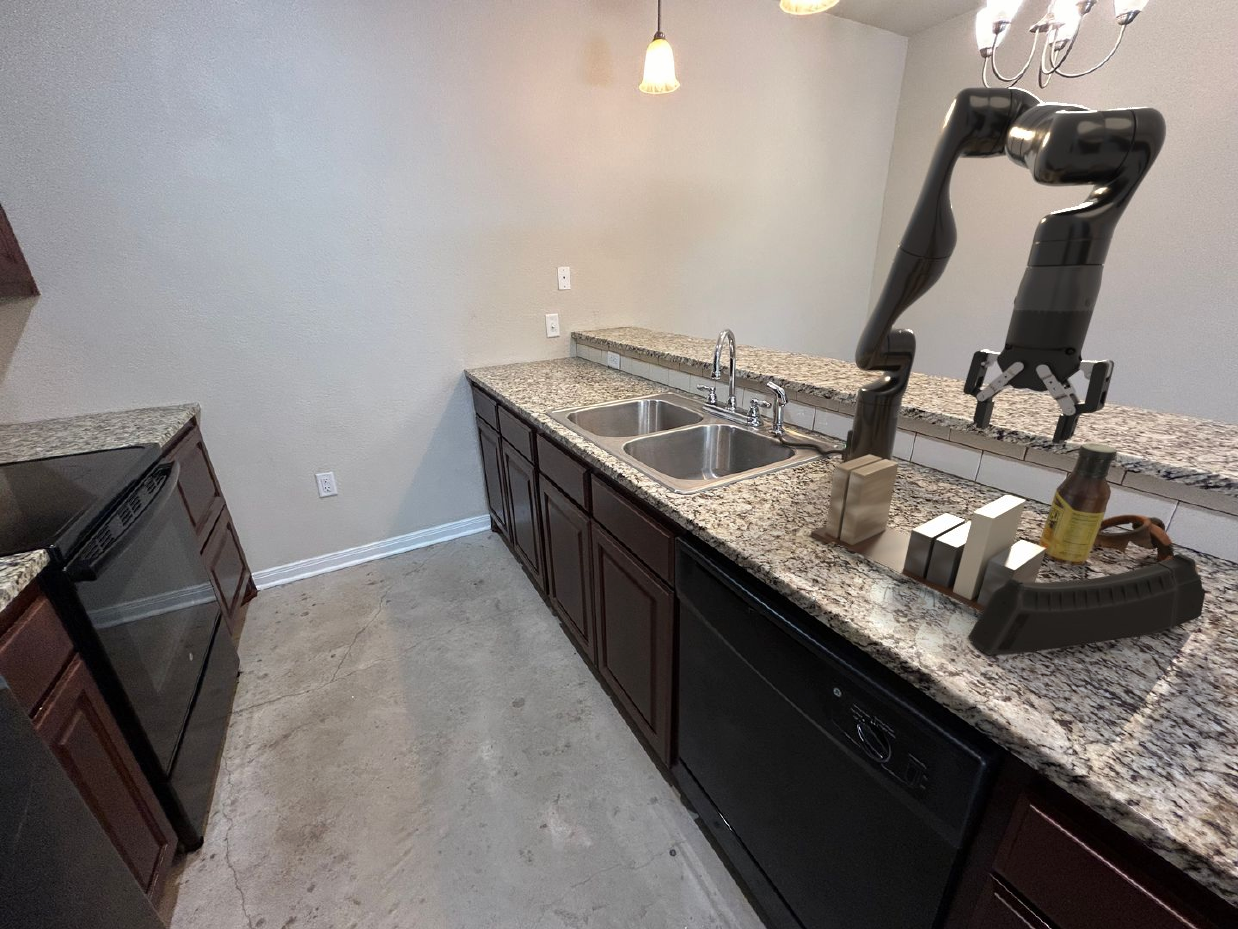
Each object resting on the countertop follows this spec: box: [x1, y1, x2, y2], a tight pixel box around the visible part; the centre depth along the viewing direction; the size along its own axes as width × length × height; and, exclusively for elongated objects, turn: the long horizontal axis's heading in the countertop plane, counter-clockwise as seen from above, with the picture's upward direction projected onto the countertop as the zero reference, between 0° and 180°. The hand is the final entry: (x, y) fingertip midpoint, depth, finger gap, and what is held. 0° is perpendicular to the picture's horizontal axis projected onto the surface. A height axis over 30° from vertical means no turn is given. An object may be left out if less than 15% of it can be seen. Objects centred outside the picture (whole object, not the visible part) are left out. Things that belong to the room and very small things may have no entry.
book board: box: [810, 455, 1046, 613], centre depth 79 cm, size 31×13×14 cm, turn 32°
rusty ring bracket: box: [1092, 514, 1175, 561], centre depth 82 cm, size 12×10×8 cm
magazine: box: [967, 553, 1206, 656], centre depth 62 cm, size 17×3×30 cm
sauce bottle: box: [1038, 442, 1118, 566], centre depth 78 cm, size 6×6×20 cm
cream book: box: [953, 494, 1027, 600], centre depth 72 cm, size 2×10×13 cm, turn 122°
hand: (1017, 434), depth 66 cm, fingers open, 8 cm apart
